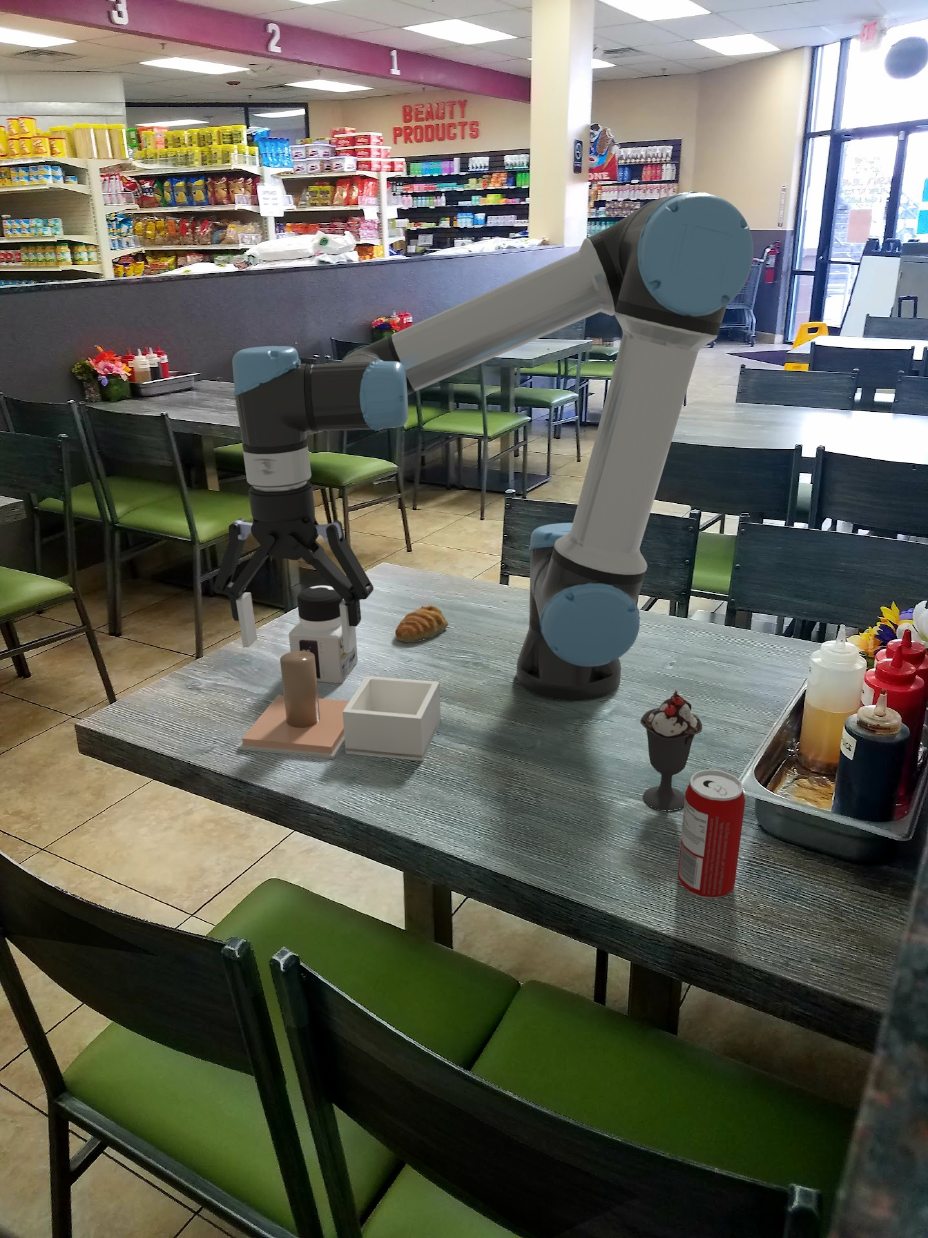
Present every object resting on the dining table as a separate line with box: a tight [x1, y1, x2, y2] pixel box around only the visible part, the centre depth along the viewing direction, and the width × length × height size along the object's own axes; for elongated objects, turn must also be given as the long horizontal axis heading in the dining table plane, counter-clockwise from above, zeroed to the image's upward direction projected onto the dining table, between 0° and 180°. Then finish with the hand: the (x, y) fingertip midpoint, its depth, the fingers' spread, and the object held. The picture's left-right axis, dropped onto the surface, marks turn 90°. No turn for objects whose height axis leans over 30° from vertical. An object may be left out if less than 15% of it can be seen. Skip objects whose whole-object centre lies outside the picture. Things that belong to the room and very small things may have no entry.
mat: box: [236, 736, 345, 760], centre depth 120 cm, size 13×13×1 cm
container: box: [288, 585, 359, 684], centre depth 133 cm, size 8×8×13 cm
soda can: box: [677, 769, 746, 900], centre depth 88 cm, size 6×6×12 cm
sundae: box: [639, 690, 703, 812], centre depth 101 cm, size 7×7×15 cm
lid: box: [241, 651, 350, 754], centre depth 118 cm, size 12×12×10 cm
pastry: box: [395, 605, 449, 644], centre depth 147 cm, size 9×7×4 cm
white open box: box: [343, 675, 442, 762], centre depth 116 cm, size 10×10×6 cm
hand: (299, 646), depth 115 cm, fingers open, 13 cm apart
